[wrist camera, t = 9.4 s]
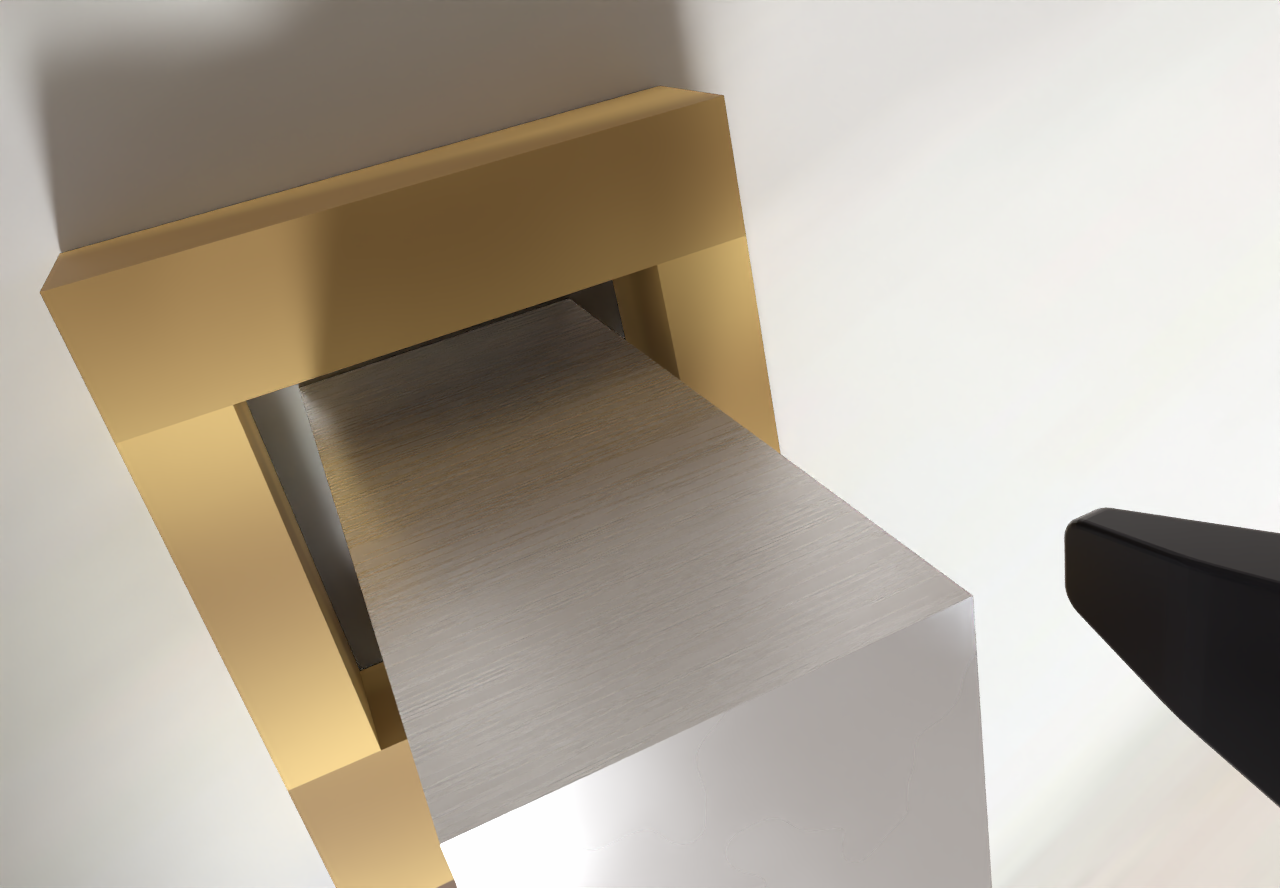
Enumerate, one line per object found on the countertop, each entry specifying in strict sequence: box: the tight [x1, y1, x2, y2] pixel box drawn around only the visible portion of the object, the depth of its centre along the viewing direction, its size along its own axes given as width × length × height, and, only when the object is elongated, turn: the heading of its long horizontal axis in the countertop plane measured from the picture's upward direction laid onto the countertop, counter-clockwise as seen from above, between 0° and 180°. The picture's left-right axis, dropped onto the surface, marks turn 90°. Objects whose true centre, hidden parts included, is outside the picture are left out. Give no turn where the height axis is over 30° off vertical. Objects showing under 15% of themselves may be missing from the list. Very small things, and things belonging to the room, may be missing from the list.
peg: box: [299, 298, 992, 888], centre depth 12 cm, size 4×4×9 cm
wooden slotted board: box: [40, 86, 780, 888], centre depth 17 cm, size 20×8×2 cm, turn 13°
